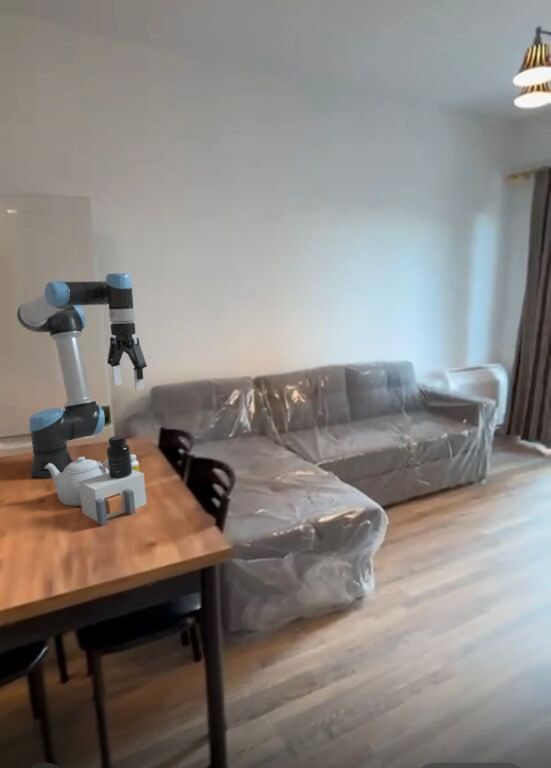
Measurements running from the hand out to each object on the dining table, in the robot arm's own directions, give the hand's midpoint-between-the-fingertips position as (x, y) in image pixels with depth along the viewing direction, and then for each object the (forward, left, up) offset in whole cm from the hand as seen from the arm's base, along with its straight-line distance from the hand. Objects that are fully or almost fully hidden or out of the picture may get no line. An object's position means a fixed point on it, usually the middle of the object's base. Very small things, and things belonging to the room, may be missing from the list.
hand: (128, 387), depth 160 cm
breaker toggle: (+13, -17, -33) cm, 39 cm away
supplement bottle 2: (-5, +1, -35) cm, 35 cm away
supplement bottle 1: (+10, -11, -25) cm, 29 cm away
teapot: (-6, -15, -35) cm, 39 cm away
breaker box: (+12, -14, -35) cm, 39 cm away
